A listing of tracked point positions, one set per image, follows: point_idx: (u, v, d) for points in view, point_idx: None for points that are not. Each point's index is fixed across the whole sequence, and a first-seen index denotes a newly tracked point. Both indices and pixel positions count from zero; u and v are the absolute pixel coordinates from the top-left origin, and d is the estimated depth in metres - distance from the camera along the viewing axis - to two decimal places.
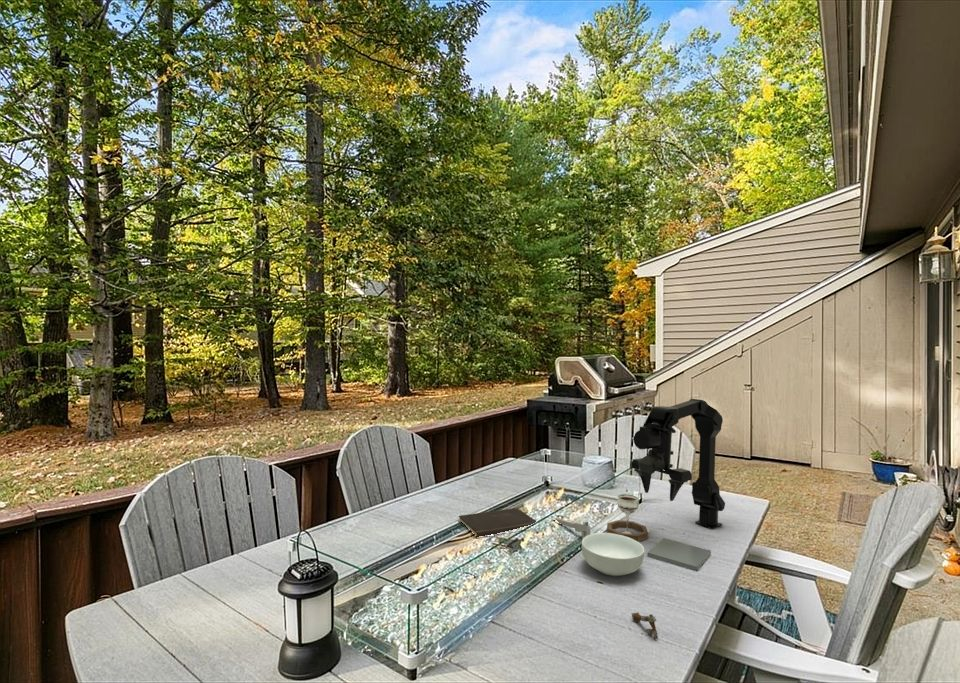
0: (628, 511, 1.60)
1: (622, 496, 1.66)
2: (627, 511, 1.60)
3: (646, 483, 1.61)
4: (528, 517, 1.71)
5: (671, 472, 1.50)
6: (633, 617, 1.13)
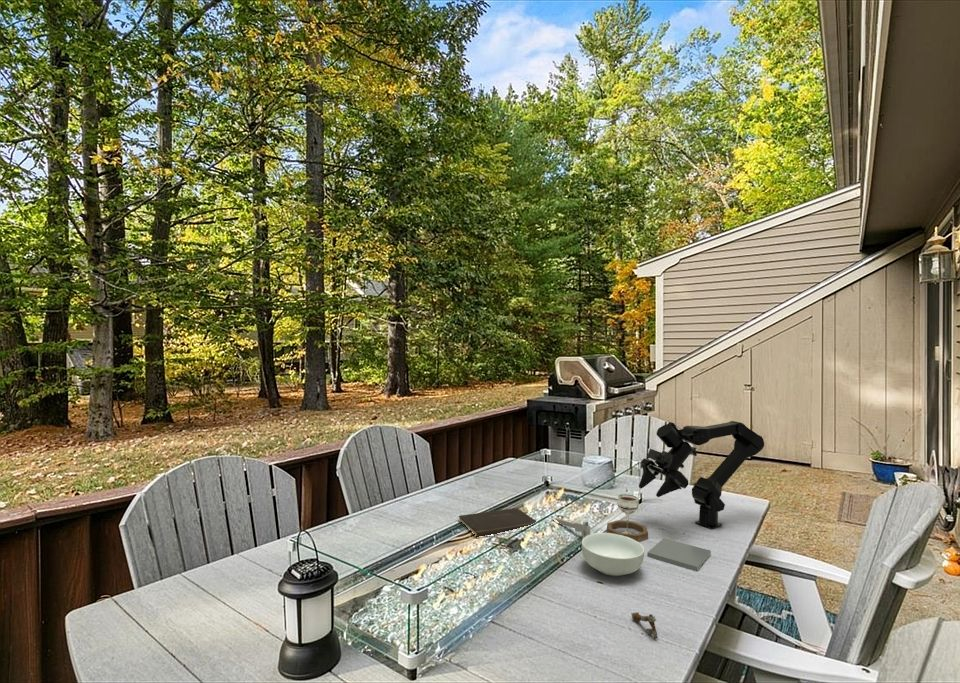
0: (628, 511, 1.60)
1: (622, 496, 1.66)
2: (627, 511, 1.60)
3: (644, 480, 1.70)
4: (528, 517, 1.71)
5: (672, 469, 1.60)
6: (633, 617, 1.13)
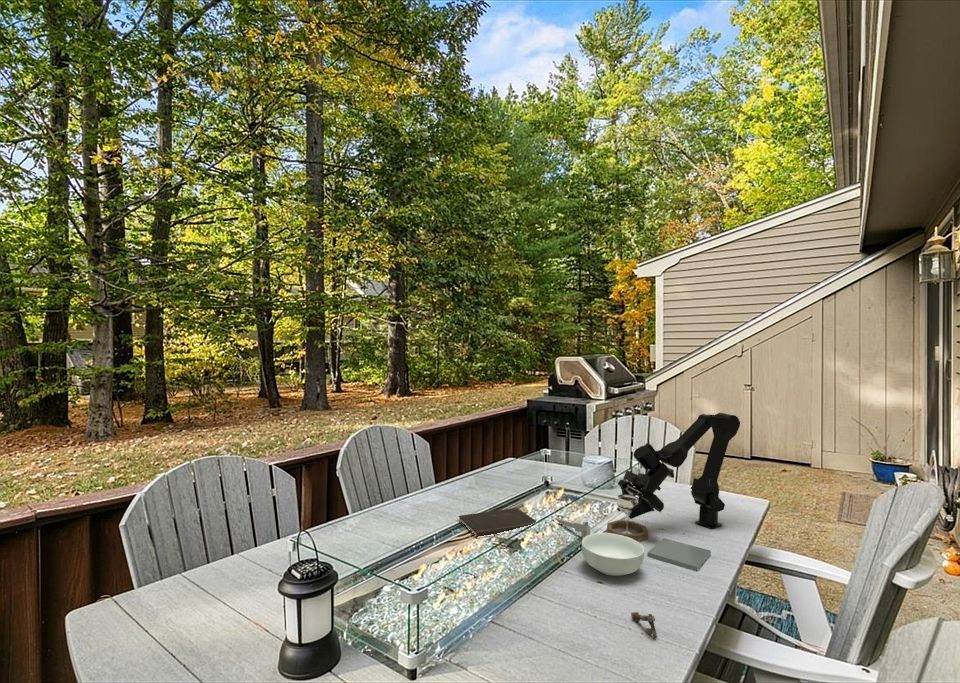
0: (628, 511, 1.60)
1: (622, 496, 1.66)
2: (627, 511, 1.60)
3: None
4: (528, 517, 1.71)
5: (647, 492, 1.58)
6: (632, 616, 1.13)
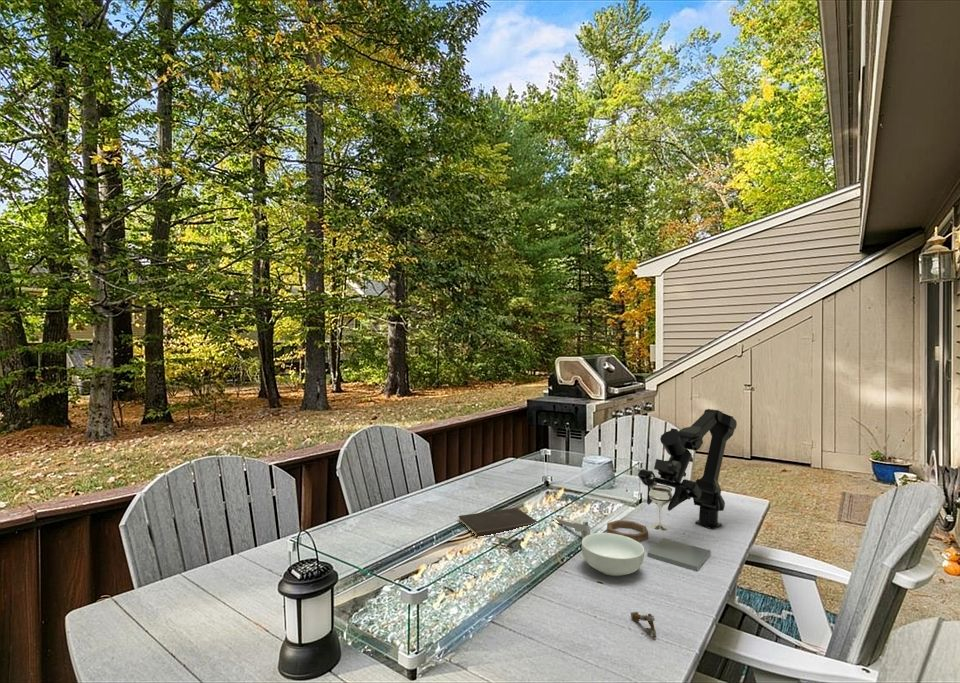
0: (665, 503, 1.49)
1: (651, 487, 1.54)
2: (664, 503, 1.49)
3: None
4: (528, 517, 1.71)
5: (685, 480, 1.49)
6: (632, 616, 1.13)
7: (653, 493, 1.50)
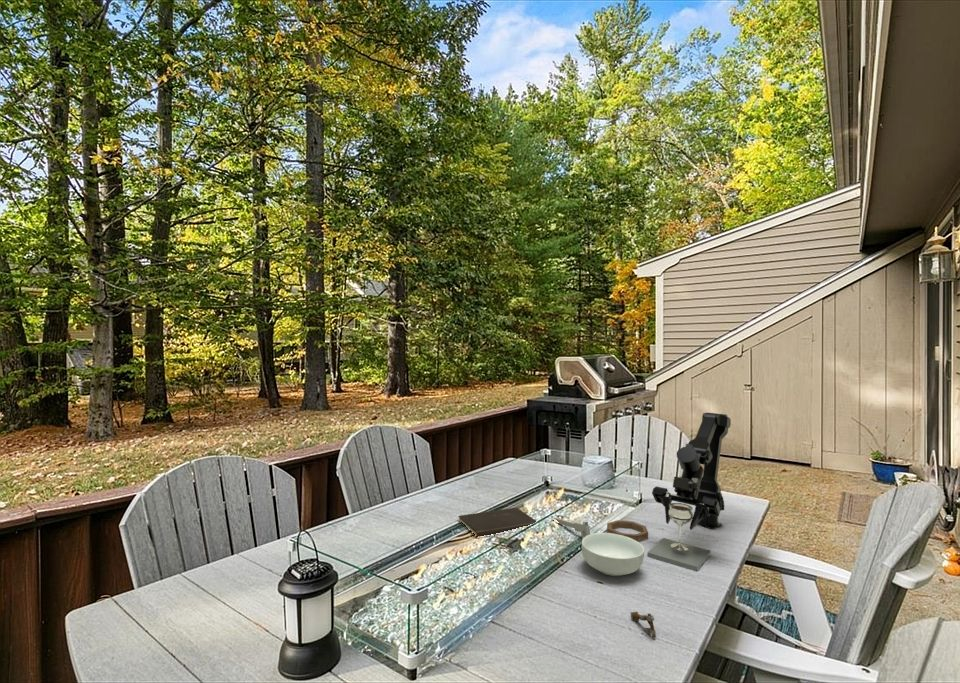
0: (687, 522, 1.45)
1: (670, 506, 1.49)
2: (686, 522, 1.45)
3: None
4: (528, 517, 1.71)
5: (705, 497, 1.46)
6: (632, 616, 1.13)
7: (675, 512, 1.45)
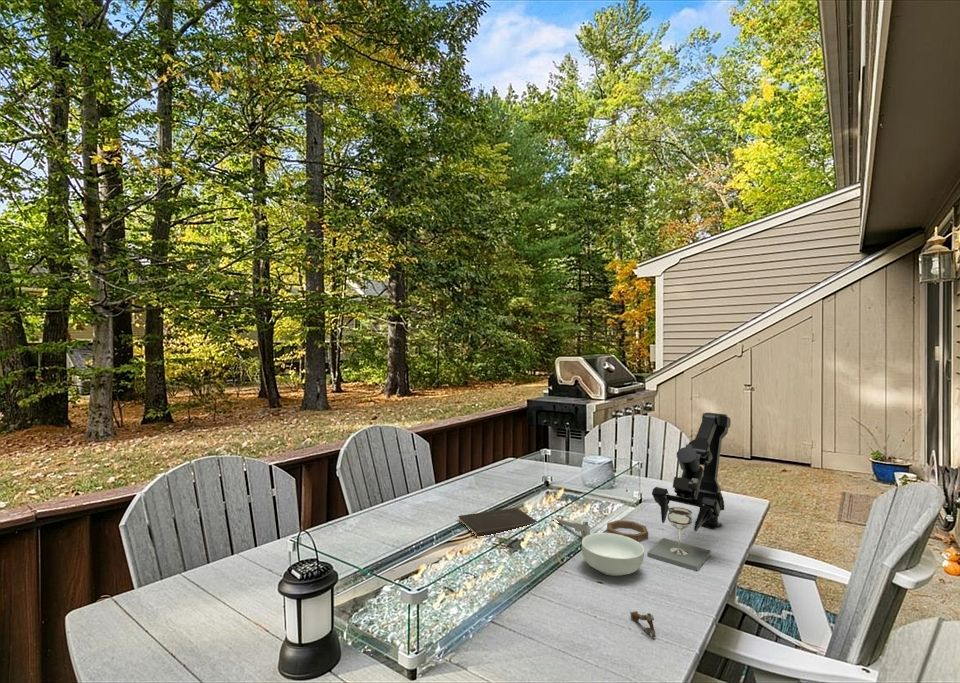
0: (686, 526, 1.45)
1: (669, 510, 1.49)
2: (685, 526, 1.45)
3: (665, 513, 1.51)
4: (528, 517, 1.72)
5: (705, 498, 1.46)
6: (632, 616, 1.13)
7: (674, 517, 1.46)
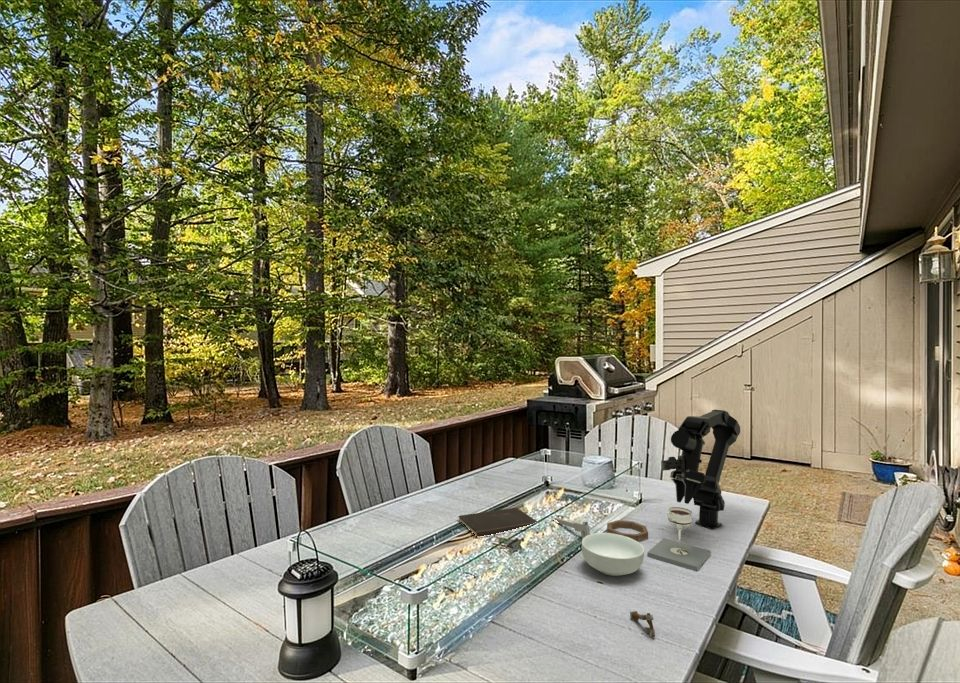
0: (686, 526, 1.45)
1: (669, 510, 1.49)
2: (685, 526, 1.45)
3: (679, 492, 1.64)
4: (528, 517, 1.72)
5: (683, 470, 1.56)
6: (631, 616, 1.13)
7: (674, 517, 1.46)
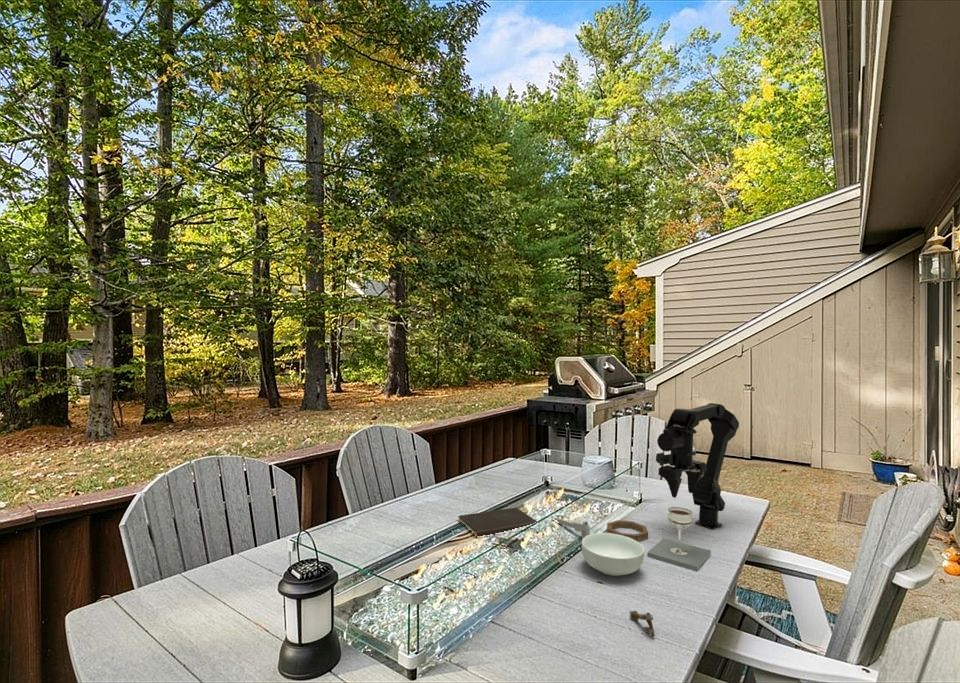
0: (686, 526, 1.45)
1: (669, 510, 1.49)
2: (685, 526, 1.45)
3: (689, 483, 1.66)
4: (527, 517, 1.72)
5: None
6: (631, 615, 1.13)
7: (674, 517, 1.46)
